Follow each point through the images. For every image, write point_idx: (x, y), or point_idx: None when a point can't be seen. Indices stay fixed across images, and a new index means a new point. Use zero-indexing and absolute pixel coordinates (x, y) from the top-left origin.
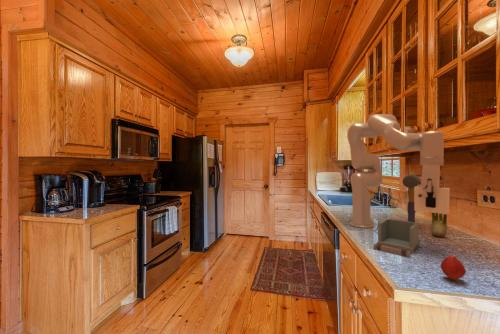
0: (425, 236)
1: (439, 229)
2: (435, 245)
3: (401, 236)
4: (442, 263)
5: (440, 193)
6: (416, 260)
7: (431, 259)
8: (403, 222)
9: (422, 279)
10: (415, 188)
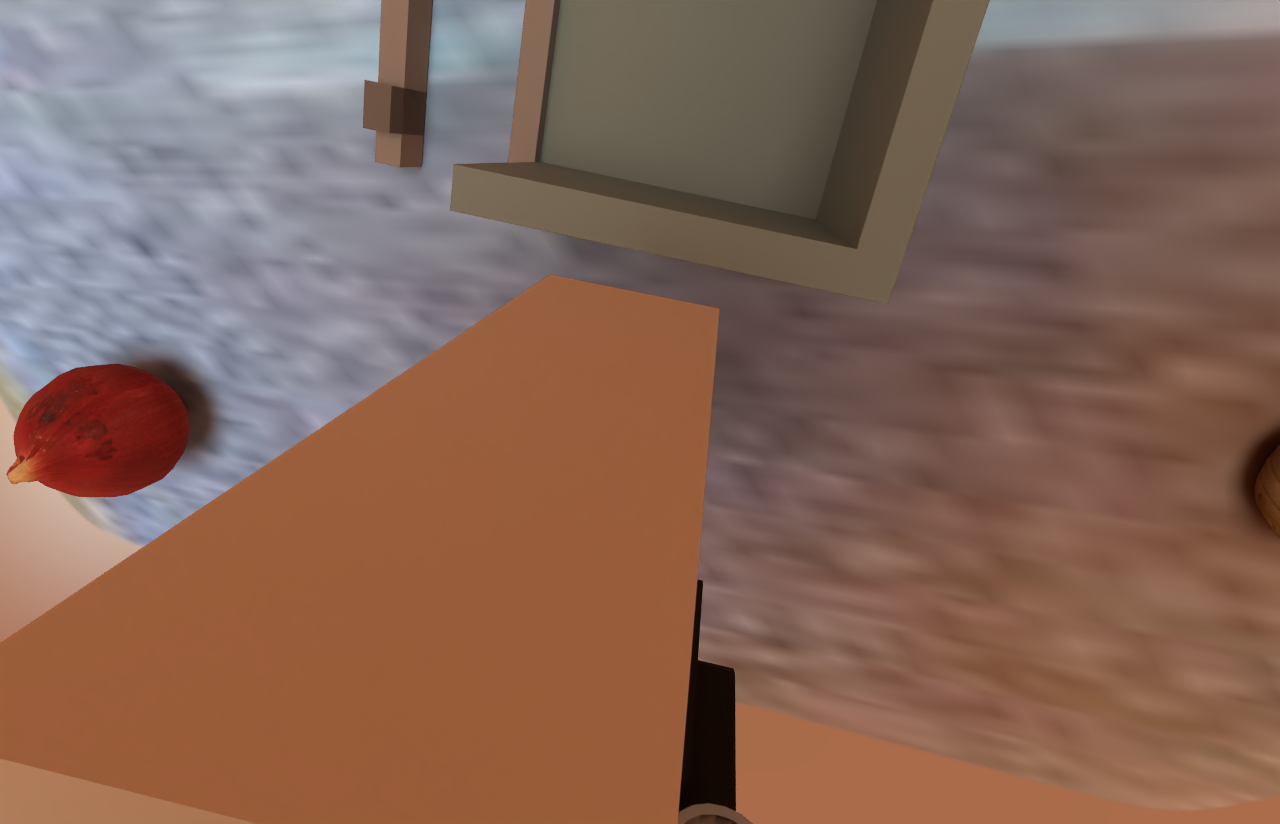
0: (1264, 341)
1: None
2: (909, 399)
3: (867, 63)
4: (52, 383)
5: None
6: (366, 214)
7: (468, 325)
8: (909, 64)
9: (38, 238)
10: (60, 662)
